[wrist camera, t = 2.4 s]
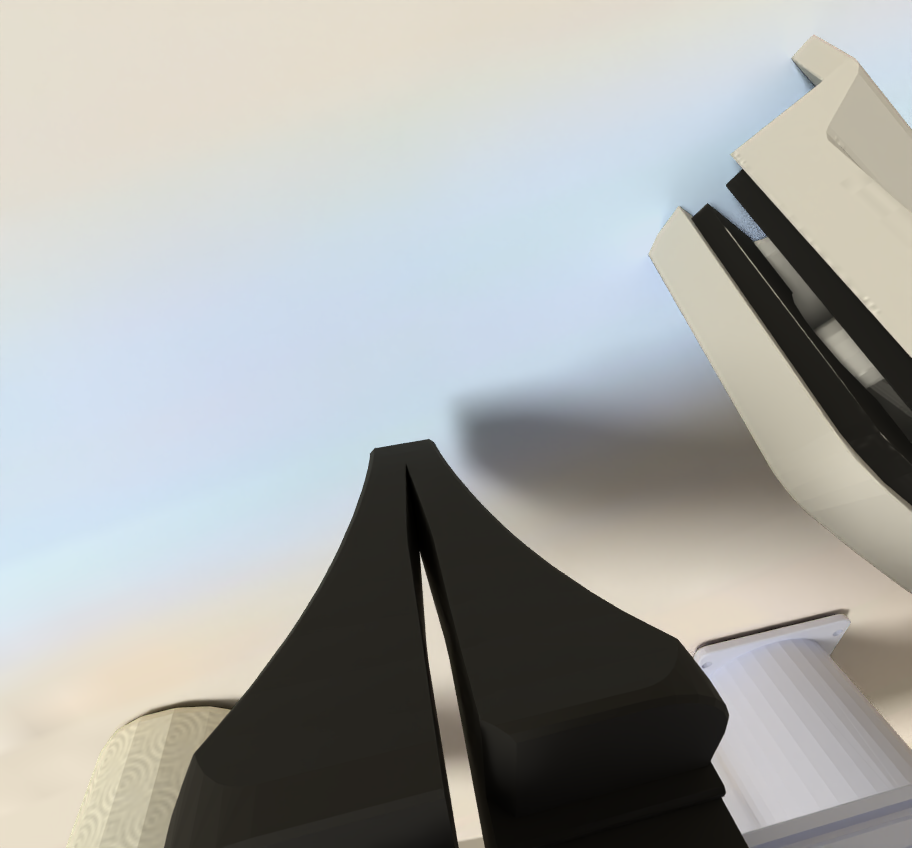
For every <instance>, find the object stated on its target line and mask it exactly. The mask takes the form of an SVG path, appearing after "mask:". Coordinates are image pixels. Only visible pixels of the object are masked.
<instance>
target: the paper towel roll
mask: <svg viewBox="0 0 912 848" xmlns="http://www.w3.org/2000/svg"><path fill="white" fill-rule="evenodd" d="M230 711H231V710H229V709H223V708H217V707H211V706H208V707H186V708H173V709H169V710H165V711H161V712H157V713H153V714H149V715H145V716H142V717H140V718H138V719H136V720H134V721H132V722H131V723H129V724H127V725H125V726H123V727H121V728H119V729H118V730H117V731H116V732H115V733H114V735H113V736H112V737H111V739H110V740H109V741H108V743H107V744H106V745H105V747H104V748H103V750H102V751H101V752H100V755H99V758H98V760H97V763H96V766H95V769H94V771H93V774H92V777H91V780H90V783H89V785H88V788H87V791H86V794H85V796H84V799H83V802H82V805H81V808H80V810H79V813H78V816H77V819H76V821H75V824H74V827H73V830H72V832H71V835H70V838H69V841H68V844H67V846H66V848H164V845H165V840H166V836H167V832H168V828H169V824H170V820H171V816H172V813H173V810H174V807H175V804H176V801H177V798H178V796H179V792H180V789H181V786H182V783H183V780H184V778H185V775H186V772H187V769H188V767H189V764H190V761H191V759H192V756H193V754H194V753H195V752H196V750H197V749H198V748H199V747H200V746H201V745H202V744H203V742H204V741H205V740H206V739H207V738H208V736H209V735H210V734H211V733H212V732H213V731H214V729H215V728H216V727H217V726H218V725H219V724H220V722H221V721H222V720H223V719H224V718H225V716H226V715H227V714H228V713H229V712H230Z"/></svg>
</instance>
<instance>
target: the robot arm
mask: <svg viewBox="0 0 912 848" xmlns="http://www.w3.org/2000/svg"><path fill="white" fill-rule="evenodd" d="M420 554H421V558H422V561H423V565H424V568H425V572H426V575H427V579H428V582H429V586H430V589H431V593H432V596H433V600H434V603H435V607H436V610H437V614H438V617H439V621H440V624H441V628H442V631H443V635H444V638H445V642H446V646H447V651H448V655H449V659H450V664H451V669H452V675H453V680H454V685H455V690H456V696H457V701H458V706H459V711H460V717H461V722H462V727H463V733H464V738H465V743H466V749H467V754H468V759H469V765H470V770H471V775H472V781H473V786H474V791H475V797H476V802H477V807H478V813H479V818H480V824H481V829H482V835H483V840H484V845H485V848H912V750H911V748H910V747H909V746H908V745H907V744H906V743H905V742H904V740H903V739H902V738H901V737H900V736H899V735H898V734H897V732H896V731H895V730H894V729H893V728H892V727H891V726H890V724H889V723H888V722H887V721H886V720H885V719H884V718H883V716H882V715H881V714H880V713H879V712H878V711H877V710H876V708H875V707H874V706H873V705H872V704H871V703H870V702H869V700H868V699H867V698H866V697H865V696H864V695H863V694H862V692H861V691H860V690H859V689H858V688H857V687H856V686H855V684H854V683H853V682H852V681H851V680H850V679H849V678H848V676H847V675H846V674H845V673H844V672H843V671H842V670H841V668H840V667H839V666H838V665H837V664H836V663H835V662H834V660H833V659H832V658H831V657H830V655H831V653H832V652H833V650H834V648H835V647H836V645H837V644H838V642H839V641H840V639H841V638H842V636H843V635H844V633H845V631H846V630H847V628H848V627H849V625H850V623H851V621H850V620H849V618H848V617H847V616H846V615H844V614H837V615H833V616H828V617H824V618H820V619H816V620H812V621H808V622H803V623H799V624H795V625H791V626H787V627H783V628H778V629H774V630H770V631H766V632H762V633H758V634H753V635H749V636H745V637H741V638H737V639H733V640H728V641H724V642H720V643H716V644H712V645H708V646H704V647H702V648H700V649H699V650H697V652H696V653H695V656H694V658H693V657H692V656H691V655H690V654H689V652H688V651H687V650H686V649H685V647H684V646H683V645H682V644H681V642H680V641H679V640H678V639H677V638H675V637H673V636H671V635H669V634H667V633H665V632H663V631H661V630H659V629H657V628H655V627H653V626H651V625H649V624H647V623H645V622H643V621H641V620H639V619H637V618H635V617H634V616H632V615H630V614H628V613H626V612H624V611H622V610H620V609H619V608H617V607H615V606H614V605H612V604H610V603H609V602H607V601H605V600H604V599H602V598H600V597H599V596H597V595H595V594H594V593H592V592H590V591H589V590H587V589H586V588H584V587H583V586H582V585H580V584H579V583H577V582H576V581H574V580H573V579H571V578H570V577H568V576H567V575H565V574H564V573H562V572H561V571H559V570H558V569H556V568H555V567H553V566H552V565H551V564H549V563H548V562H547V561H545V560H544V559H543V558H541V557H540V556H539V555H538V554H536V553H535V552H534V551H532V550H531V549H530V548H529V547H527V546H526V545H525V544H524V543H523V542H522V541H520V540H519V539H518V538H517V537H516V536H514V535H513V534H512V533H511V532H510V531H509V530H508V529H507V528H505V527H504V526H503V525H502V524H501V523H500V522H499V521H498V520H497V519H496V518H495V517H494V516H493V515H492V514H491V513H490V512H489V511H488V510H487V509H486V508H485V507H484V506H483V505H482V504H481V503H480V502H479V501H478V500H477V499H476V497H475V496H474V495H473V494H472V493H471V492H470V491H469V489H468V488H467V487H466V486H465V485H464V484H463V483H462V481H461V480H460V479H459V478H458V477H457V475H456V474H455V473H454V471H453V470H452V469H451V467H450V466H449V465H448V464H447V462H446V461H445V459H444V458H443V456H442V455H441V453H440V452H439V450H438V448H437V447H436V445H435V443H434V442H433V441H431V440H430V439H427V440H421V441H415V442H409V443H403V444H397V445H391V446H386V447H380V448H374V450H373V451H372V452H371V453H370V460H369V466H368V470H367V474H366V478H365V482H364V485H363V489H362V492H361V495H360V497H359V500H358V503H357V506H356V509H355V512H354V514H353V517H352V519H351V522H350V524H349V527H348V529H347V531H346V533H345V536H344V538H343V540H342V543H341V545H340V547H339V549H338V551H337V553H336V555H335V557H334V559H333V561H332V563H331V565H330V567H329V569H328V571H327V573H326V575H325V577H324V578H323V580H322V582H321V584H320V586H319V587H318V589H317V591H316V593H315V594H314V596H313V597H312V599H311V601H310V602H309V604H308V606H307V607H306V609H305V610H304V612H303V614H302V615H301V617H300V619H299V620H298V622H297V623H296V625H295V626H294V628H293V629H292V631H291V632H290V634H289V635H288V636H287V638H286V639H285V641H284V642H283V643H282V645H281V646H280V647H279V649H278V650H277V652H276V653H275V654H274V656H273V657H272V658H271V660H270V661H269V662H268V664H267V665H266V666H265V668H264V669H263V671H262V672H261V673H260V675H259V676H258V677H257V679H256V680H255V681H254V683H253V684H252V685H251V686H250V688H249V689H248V690H247V691H246V693H245V694H244V695H243V696H242V698H241V699H240V700H239V701H238V702H237V703H236V705H235V706H234V707H233V708H232V709H231V711H230V712H229V713H228V714H227V715H226V716H225V718H224V719H223V720H222V721H221V722H220V724H219V725H218V726H217V727H216V728H215V729H214V731H213V732H212V733H211V734H210V735H209V736H208V738H207V739H206V740H205V741H204V742H203V744H202V745H201V746H200V747H199V748H198V749H197V750H196V752H195V753H194V754H193V756H192V759H191V761H190V764H189V767H188V769H187V772H186V775H185V778H184V780H183V783H182V786H181V789H180V792H179V796H178V798H177V801H176V804H175V807H174V810H173V813H172V816H171V820H170V824H169V828H168V832H167V836H166V840H165V845H164V848H459V847H458V841H457V835H456V829H455V823H454V817H453V811H452V805H451V798H450V792H449V786H448V780H447V774H446V768H445V762H444V755H443V749H442V743H441V737H440V731H439V725H438V718H437V712H436V706H435V700H434V694H433V687H432V681H431V675H430V669H429V663H428V654H427V645H426V632H425V619H424V605H423V591H422V577H421V564H420Z"/></svg>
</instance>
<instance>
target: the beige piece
mask: <svg viewBox="0 0 912 848" xmlns="http://www.w3.org/2000/svg"><path fill="white" fill-rule="evenodd" d="M792 60H793V61H794V62H795V64H796V65H797V66H798V67H799V68H800V69H801V70H802V72H803V73H804V74H805V75H806V76H807V77H808V78H809V79H810V81H811V82H812V83H813V84H814V85H815V86H816V87H815V88H813V89H812V90H811V91H810V92H808V93H807V94H806V95H805V96H803V97H802V98H801V99H799V100H798V101H797V102H796V103H794V104H793V105H792V106H791V107H789V108H788V109H787V110H786V111H784V112H783V113H782V114H781V115H779V116H778V117H777V118H776V119H774V120H773V121H772V122H770V123H769V124H768V125H767V126H765V127H764V128H763V129H762V130H760V131H759V132H758V133H757V134H755V135H754V136H753V137H752V138H750V139H749V140H748V141H747V142H745V143H744V144H743V145H741V146H740V147H739V148H738V149H736V150H735V151H734V152H733V153H731V154H730V155H731V156H732V157H733V158H734V159H735V161H736V162H737V163H738V164H739V165H740V166H741V167H742V168H743V169H742V170H741V171H740V172H739V173H738V174H737V175H736V176H735V177H734V178H733V179H731V180H730V181H729V182H728V183H727V184H726V187H727V188H728V189H729V190H730V192H731V193H732V194H733V195H734V196H735V198H736V199H737V200H738V201H739V203H740V204H741V205H742V206H743V207H744V209H745V210H746V211H747V212H748V213H749V215H750V216H751V217H752V218H753V220H754V221H755V222H756V223H757V224H758V226H759V227H760V228H761V229H762V230H763V232H764V233H765V234H766V235H767V237H766V238H764V239H761V240H758V241H754V242H753V241H752V240H751V239H750V238H749V237H748V236H747V235H746V234H744V233H743V232H742V231H741V230H740V229H738V228H737V227H736V226H735V225H733V224H732V223H731V222H730V221H729V220H727V219H726V218H725V217H724V216H722V215H721V214H720V213H719V212H718V211H716V210H715V209H714V208H713V207H711V206H710V205H709V204H708V203H707V204H706V205H705V206H704V207H703V208H702V209H701V210H700V211H699V212H698V213H697V214H695V215H694V216H691V215H690V214H689V213H687V212H686V211H685V210H684V209H682V208H681V207H679V206H678V207H677V209H676V210H675V212H674V213H673V214H672V216H671V217H670V218H669V220H668V221H667V222H666V224H665V225H664V227H663V228H662V229H661V231H660V232H659V233H658V235H657V237H656V239H655V241H654V243H653V246H652V248H651V250H650V252H649V257H650V258H651V260H652V262H653V264H654V265H655V267H656V269H657V271H658V272H659V274H660V276H661V278H662V279H663V281H664V283H665V285H666V286H667V288H668V290H669V292H670V293H671V295H672V297H673V299H674V300H675V302H676V304H677V306H678V307H679V309H680V311H681V313H682V314H683V316H684V318H685V320H686V321H687V323H688V325H689V327H690V328H691V330H692V332H693V334H694V335H695V337H696V339H697V341H698V342H699V344H700V346H701V348H702V349H703V351H704V353H705V355H706V356H707V358H708V360H709V362H710V363H711V365H712V367H713V369H714V370H715V372H716V374H717V376H718V377H719V379H720V381H721V383H722V384H723V386H724V388H725V390H726V391H727V393H728V395H729V397H730V398H731V400H732V402H733V404H734V405H735V407H736V409H737V411H738V412H739V414H740V416H741V418H742V419H743V421H744V423H745V425H746V426H747V428H748V430H749V432H750V433H751V435H752V437H753V439H754V440H755V442H756V444H757V446H758V447H759V449H760V451H761V453H762V454H763V456H764V458H765V460H766V461H767V463H768V465H769V467H770V468H771V470H772V471H773V473H774V475H775V476H776V478H777V479H778V480H779V482H780V483H781V484H782V485H783V487H784V488H785V489H786V491H787V492H788V493H789V494H790V495H791V497H792V498H793V499H794V500H795V501H796V503H797V504H798V505H799V506H800V507H802V508H803V509H804V510H805V511H806V512H807V513H808V514H809V515H810V516H812V517H813V518H814V519H815V520H816V521H818V522H819V523H820V524H821V525H823V526H824V527H825V528H826V529H827V530H829V531H830V532H831V533H832V534H834V535H835V536H836V537H837V538H839V539H840V540H841V541H842V542H843V543H845V544H846V545H847V546H848V547H850V548H851V549H852V550H853V551H854V552H856V553H857V554H858V555H860V556H861V557H862V558H864V559H865V560H866V561H868V562H869V563H870V564H872V565H873V566H874V567H876V568H877V569H878V570H880V571H881V572H882V573H884V574H885V575H886V576H888V577H889V578H890V579H892V580H893V581H894V582H896V583H897V584H898V585H900V586H901V587H902V588H904V589H905V590H907V591H908V592H910V593H911V594H912V129H911V128H910V127H909V125H908V124H907V123H906V122H905V120H904V119H903V118H902V117H901V115H900V114H899V113H898V112H897V110H896V109H895V108H894V107H893V105H892V104H891V103H890V102H889V100H888V99H887V98H886V97H885V95H884V94H883V93H882V91H881V90H880V89H879V88H878V86H877V85H876V84H875V83H874V81H873V80H872V79H871V78H870V76H869V75H868V74H867V73H866V71H865V70H864V69H863V68H862V66H861V65H860V64H859V62H858V61H857V60H856V59H855V58H854V57H852V56H850V55H848V54H847V53H845V52H843V51H842V50H840V49H838V48H836V47H835V46H833V45H831V44H829V43H828V42H826V41H824V40H823V39H821V38H819V37H817V36H816V35H813V36H812V37H810V38H809V39H808V40H807V41H806V42H805V44H804V45H803V46H802V47H801V48H800V49H799V50H798V51H797V52H796V53H795V55H794V56H793V57H792Z"/></svg>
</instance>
